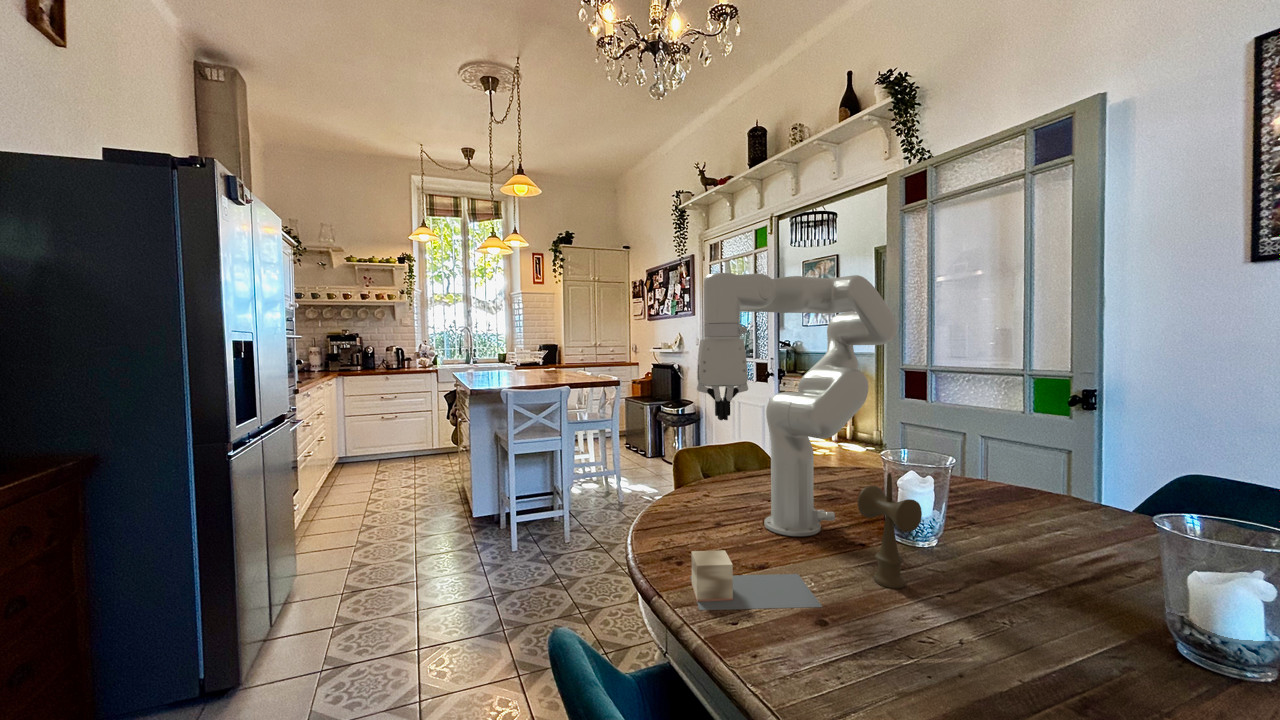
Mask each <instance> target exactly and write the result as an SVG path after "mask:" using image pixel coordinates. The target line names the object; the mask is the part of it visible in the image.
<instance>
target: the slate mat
mask: <svg viewBox="0 0 1280 720" xmlns="http://www.w3.org/2000/svg"><path fill="white" fill-rule="evenodd" d="M689 577H690V581H691V583H692V575H690V576H689ZM695 599H696V598H695ZM696 603H697V607H698V610H699V611H719V610H720V611H723V610H725V611H726V610H727V611H728V610H729V611H730V610H760V609H761V610H762V609H764V610H765V609H766V610H767V609H803V608H808V609H809V608H823V605H822V604H821V603H820V601H819V600H818V598H817V597H816V596H815V594H814V593H813V592H812V590H810V588H809V587H808V586H807V583H805V581H804V580H803V579H802V577H801V576H800V575H799V573H783V574H782V573H781V574H779V573H778V574H777V573H775V574H774V573H773V574H744V575H743V574H741V575H740V574H739V575H738V574H737V575H735V574H733V600H724V601H697V599H696Z"/></svg>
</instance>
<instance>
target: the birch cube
mask: <svg viewBox="0 0 1280 720" xmlns="http://www.w3.org/2000/svg"><path fill="white" fill-rule="evenodd" d="M733 569H734V568H733V563H732V560H731V559H730V556H729V555H728V553H727V552H726V550H722V549H721V550H691V576H692V582H691V586H692V589H693V593H694V596H695V599H697V600H696V602H697V601H724V600H733V575H734V572H733V571H734V570H733Z"/></svg>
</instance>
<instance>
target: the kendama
mask: <svg viewBox="0 0 1280 720" xmlns="http://www.w3.org/2000/svg"><path fill="white" fill-rule="evenodd" d="M885 490H886V492H885V493H884V491H883V490H882V489H881V488H880V487H879V486H878V485H870V484H869V485H868V486H865V487H863V488H862V489H861V490H860V493H859V495H858V499H857V509H858V512H859V513H860V515H861V516H863V517H864V518H868V519H869V518H871V519H872V518H876V517H879V516H880V515H883V516H884V523H883V524H884V525H883V532H882V539H881V545H880V548H879V551H878V552H876V554H875V555H874V558H875V559H876V561H877V570H876V572H875V573H874V574H873V576H872V579H873V581H874V582H875V584H877V585H879V586H882V587H884V588H887V589H901V588H903V587H905V585H907V583H906V580H905V579H904V578H903V577H902V574H901V565H902V564H903V563H904V559H903V557H902V556H901V555H900V553H899V548H898V543H897V538H896V530H895V526H896V527H897V528H898V530H900V531H902V532H906V533H907V532H908V533H909V532H910V533H911V532H913V531H915V530H916V529H917V528H918V527H919V526H920V524H921V521H922V515H923V513H922V507H921V505H920V503H919V502H918V501H916V500H915V499H911V498H910V499H909V498H907V499H904V500H901V501H893V479H892V473H891V472H888V473H887V476H886V488H885Z"/></svg>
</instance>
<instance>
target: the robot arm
mask: <svg viewBox="0 0 1280 720" xmlns="http://www.w3.org/2000/svg"><path fill="white" fill-rule="evenodd" d="M741 312H743V313H744V312H745V313H776V314H777V313H779V314H827V315H828V314H835V315H833V317H831V319H830V320H829V321H828V324H827V327H826V337H827V349H826V353H825V354H824V355H823V356H822V357H821V358H820V359H819V360H818V361H817V362H816V363H815V364H814V365H813V366H812V367H811V368H809V370H808V371H807V372H805V374H803V376H802V377H801V379H800V380H799V382H798V385H797V391H781V392H778V393H776V394H774V395H773V396H772V397H771V398H770V399H769V401H768V403H767V405H766V410H765V412H766V413H765V414H766V423H767V427H768V432H769V437H770V438H769V439H770V507H771V508H770V515H769V516H767V517H765V518H764V522H763V523H764V526H765V528H766V529H767V530H769V532H770V531H771V532H773V533H775V534H778V535H783V536H788V537H809V536H814V535H816V534H818V533H820V532H821V530H822V529H821V527H822V525H821V523H820V522H822V521H835V520H836V515H835V512H834V511H826V510H825V509H816V508H815V507H814V458H815V457H814V448H813V446H812V443H811V442H812V441H810V438H814V439H821V440H822V439H823V440H825V439H829V438H831V437H833V436H835V435H836V434H838V433H839V432H840V431H841V430H842V429H843V428H844V427H845V426H846V424H848V423H849V421H850V420H851V419H852V418H853V417H854V416H855V415H856V414H857V413H858V412H859V411H860V409H861V408H862V407H863V406H864V404H865V403H866V400H867V398H868V394H869V381H868V379H867V377H866V375H865V374H864V373H863V372H862V371H861V370H860V369H859V361H858V358H857V356H856V353H855V350H854V346H880V345H885V344H888V343H890V342H891V341H892V340H893V339H894V338H895V336H896V334H897V328H898V327H897V321H896V319H895V316H894V314H893V312H892V310H891V309H890V307H889V306H888V304H887V303H886V302H885V300H884V299H883V297H882V296H881V294H880V293H879V292H878V290H877V289H876V287H874V285H873V284H872V283H871V282H870V280H868V279H867V278H865V277H863V276H862V275H858V274H855V275H846V276H841V277H829V278H828V277H815V276H814V277H813V276H801V275H792V276H791V275H790V276H783V277H777V278H776V277H775V278H772V277H770V276H769V275H766V274H764V273H757V272H756V273H748V274H736V273H734V272H733V273H732V272H715V273H710V274H707V275H706V276H705V277H704V280H703V334H704V335H703V339H700V340H699V344H698V345H699V347H698V354H697V369H696V370H697V371H696V375H697V376H696V377H697V378H696V379H697V382H698V383H697V386H696V390H697V392H700V393H705V394H708V395H709V396H710V397H711V398H712V399H713V400H714V416H715V417H717V420H719V421H728V420H729V416H731V402H732V401H733V399H734V397H736V396H737V394H739V393H740V394H741V393H743V392H744V393H745V392H747V391H748V390H749V386H748V377H749V375H748V374H749V373H748V361H747V353H746V346H745V342H744V339H743V338H741V336H742V335H744V334H747V333H748V328H747V326H742V324H741ZM720 387H721V388H722V387H725V388H724V393H723V394H724V395H723V397H721V391H720Z"/></svg>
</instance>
